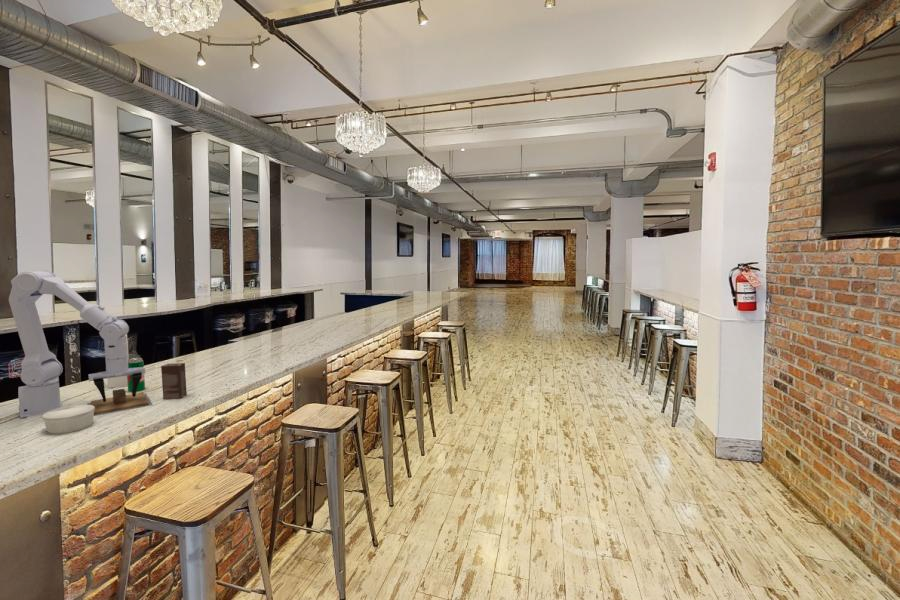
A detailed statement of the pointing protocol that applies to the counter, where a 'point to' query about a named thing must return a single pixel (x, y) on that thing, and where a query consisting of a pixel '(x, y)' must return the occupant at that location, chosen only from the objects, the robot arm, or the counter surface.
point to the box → (173, 381)
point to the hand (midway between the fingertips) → (119, 398)
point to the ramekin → (69, 418)
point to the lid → (119, 402)
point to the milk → (118, 380)
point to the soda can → (139, 363)
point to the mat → (129, 408)
